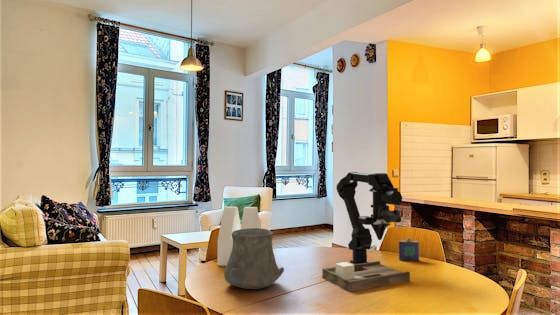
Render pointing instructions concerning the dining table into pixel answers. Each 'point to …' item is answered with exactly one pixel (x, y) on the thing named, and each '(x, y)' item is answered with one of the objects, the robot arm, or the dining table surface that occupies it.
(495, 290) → the dining table surface
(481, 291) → the dining table surface
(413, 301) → the dining table surface
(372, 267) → the box
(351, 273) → the block
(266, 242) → the vessel
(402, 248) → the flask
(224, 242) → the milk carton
